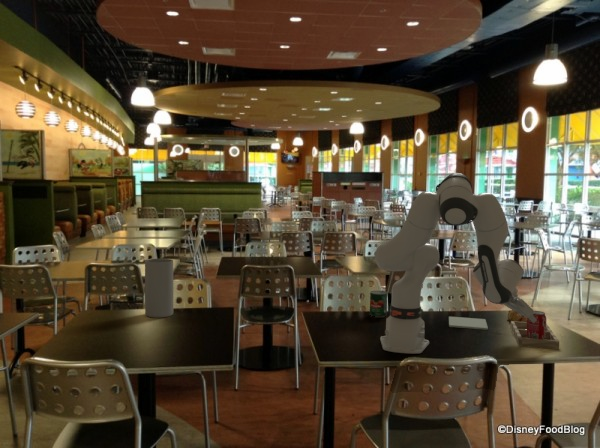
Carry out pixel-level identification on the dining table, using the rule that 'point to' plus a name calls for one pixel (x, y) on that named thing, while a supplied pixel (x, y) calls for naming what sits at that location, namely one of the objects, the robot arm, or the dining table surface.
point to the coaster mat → (468, 323)
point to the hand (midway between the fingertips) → (529, 318)
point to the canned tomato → (378, 303)
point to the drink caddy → (520, 332)
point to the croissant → (516, 317)
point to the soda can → (537, 326)
